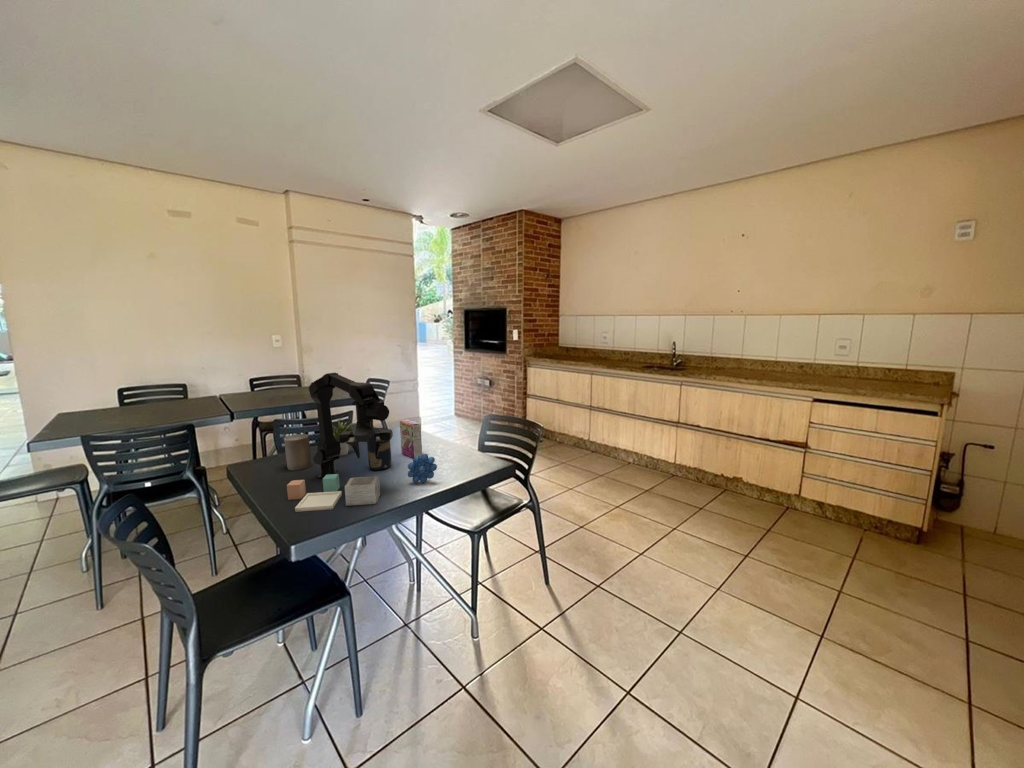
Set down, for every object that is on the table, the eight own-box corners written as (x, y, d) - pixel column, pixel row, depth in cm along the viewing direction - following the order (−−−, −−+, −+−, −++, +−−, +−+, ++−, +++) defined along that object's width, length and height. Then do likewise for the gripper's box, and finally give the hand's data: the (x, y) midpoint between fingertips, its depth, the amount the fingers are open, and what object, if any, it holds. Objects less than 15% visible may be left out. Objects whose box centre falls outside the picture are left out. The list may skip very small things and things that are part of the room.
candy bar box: (400, 454, 196) (399, 420, 194) (410, 451, 200) (408, 418, 197) (413, 459, 188) (411, 424, 186) (422, 456, 192) (421, 422, 189)
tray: (307, 496, 149) (307, 493, 149) (342, 494, 151) (341, 491, 151) (295, 511, 138) (294, 508, 138) (332, 509, 139) (332, 505, 139)
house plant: (339, 461, 187) (336, 426, 184) (318, 457, 193) (315, 423, 190) (363, 452, 200) (360, 419, 197) (342, 448, 206) (339, 417, 203)
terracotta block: (293, 494, 152) (291, 480, 151) (305, 493, 152) (304, 479, 152) (288, 499, 147) (286, 485, 147) (301, 498, 148) (300, 484, 147)
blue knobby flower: (439, 478, 165) (438, 449, 163) (436, 485, 159) (435, 455, 157) (410, 479, 165) (408, 450, 163) (406, 485, 158) (404, 456, 156)
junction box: (352, 495, 150) (350, 476, 149) (380, 493, 151) (378, 474, 150) (346, 505, 142) (344, 485, 141) (375, 503, 143) (374, 483, 142)
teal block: (327, 488, 157) (326, 474, 156) (339, 487, 158) (338, 473, 157) (323, 493, 153) (322, 479, 152) (336, 492, 153) (335, 478, 153)
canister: (388, 462, 185) (385, 423, 182) (394, 468, 177) (392, 428, 174) (366, 466, 180) (363, 426, 177) (372, 473, 172) (369, 431, 169)
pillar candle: (316, 463, 185) (312, 431, 183) (303, 470, 175) (299, 437, 173) (295, 463, 186) (292, 431, 184) (281, 470, 176) (278, 437, 174)
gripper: (332, 424, 144) (335, 466, 146) (386, 421, 146) (389, 463, 149) (340, 416, 155) (344, 456, 157) (391, 414, 157) (394, 453, 159)
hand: (367, 457), depth 155 cm, fingers open, 6 cm apart
